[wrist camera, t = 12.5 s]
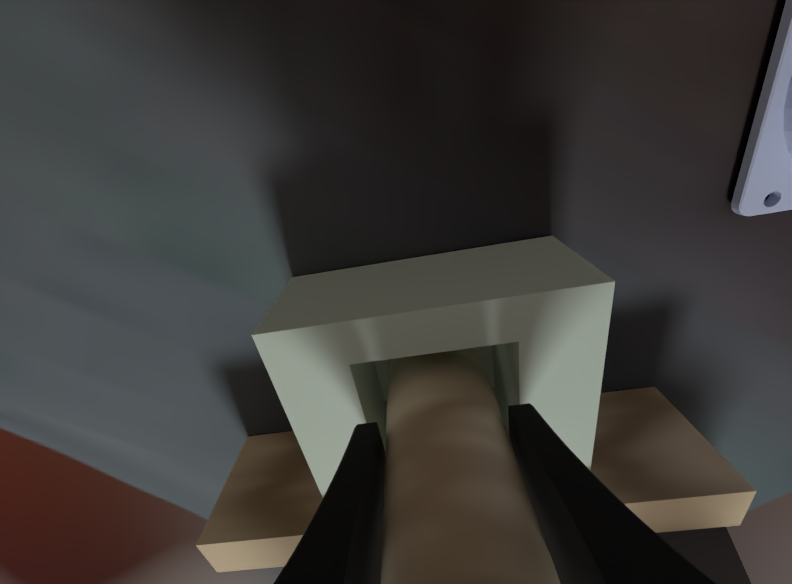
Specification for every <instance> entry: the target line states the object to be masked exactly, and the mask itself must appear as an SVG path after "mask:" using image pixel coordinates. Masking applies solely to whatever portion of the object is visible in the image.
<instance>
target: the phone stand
mask: <svg viewBox="0 0 792 584" xmlns="http://www.w3.org/2000/svg"><path fill="white" fill-rule="evenodd" d="M657 534H658V535H659V536H660V537H661V538H662V539H663V540H665V541H666V542H667V543H668V544H669V545H670V546H672V547H673V548H674V549H675V550H676V551H677V552H679V553H680V554H681V555H682V556H683V557H685V558H686V559H687V560H688V561H689V562H691V563H692V564H693V565H694V566H695V567H697V568H698V569H699V570H700V571H701V572H703V573H704V574H705V575H706V576H708V577H709V578H710V579H711V580H713V581H714V582H715V583H717V584H751V582H750V580H749V578H748V575H747V573H746V571H745V569H744V566H743V564H742V562H741V560H740V557H739V555H738V553H737V551H736V548H735V546H734V544H733V542H732V539H731V537H730V535H729V533H728V530H727V528H726V527H716V528H704V529H693V530H682V531H671V532H660V533H657Z"/></svg>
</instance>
